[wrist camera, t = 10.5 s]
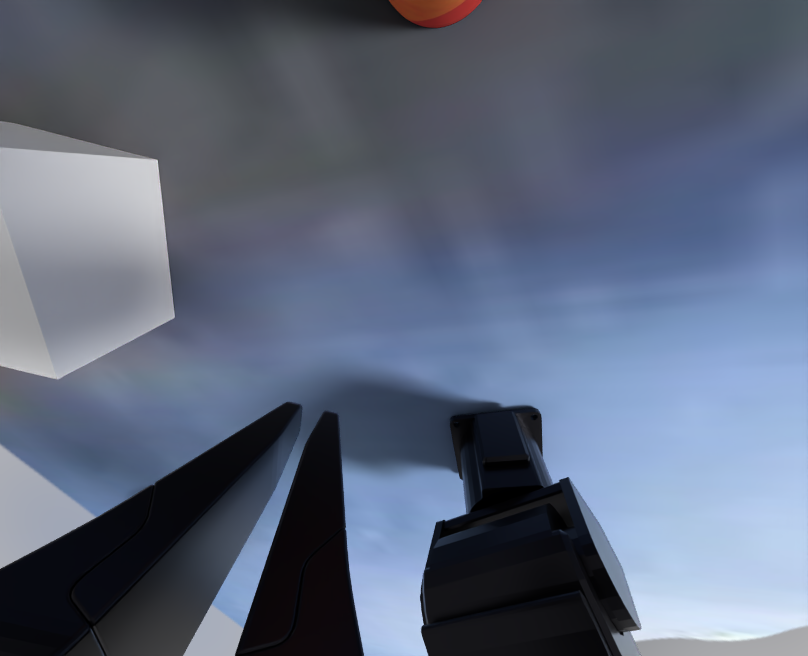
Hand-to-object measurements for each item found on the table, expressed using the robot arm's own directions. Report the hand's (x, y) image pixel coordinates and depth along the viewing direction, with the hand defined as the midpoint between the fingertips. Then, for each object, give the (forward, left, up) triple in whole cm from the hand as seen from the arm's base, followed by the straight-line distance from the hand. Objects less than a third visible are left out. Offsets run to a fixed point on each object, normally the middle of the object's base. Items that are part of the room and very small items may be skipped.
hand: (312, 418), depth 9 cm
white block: (+7, +16, -12) cm, 21 cm away
